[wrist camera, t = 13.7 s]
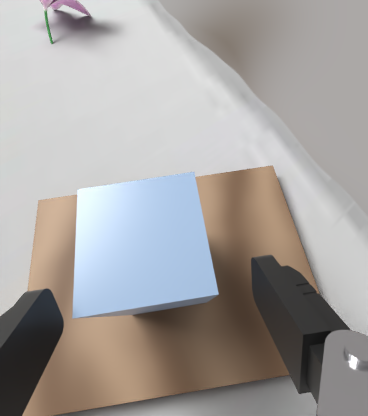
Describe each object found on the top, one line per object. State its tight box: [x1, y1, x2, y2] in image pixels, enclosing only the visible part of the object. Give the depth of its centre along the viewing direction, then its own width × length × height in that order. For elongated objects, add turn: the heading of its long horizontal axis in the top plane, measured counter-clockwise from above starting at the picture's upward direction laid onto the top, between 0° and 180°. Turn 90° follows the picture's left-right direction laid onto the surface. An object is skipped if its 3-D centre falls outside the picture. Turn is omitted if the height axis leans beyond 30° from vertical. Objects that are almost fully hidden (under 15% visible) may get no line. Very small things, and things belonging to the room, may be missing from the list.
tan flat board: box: [22, 166, 320, 416], centre depth 16 cm, size 22×16×8 cm
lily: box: [40, 0, 91, 43], centre depth 32 cm, size 12×12×10 cm
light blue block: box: [72, 172, 219, 319], centre depth 14 cm, size 6×6×9 cm
